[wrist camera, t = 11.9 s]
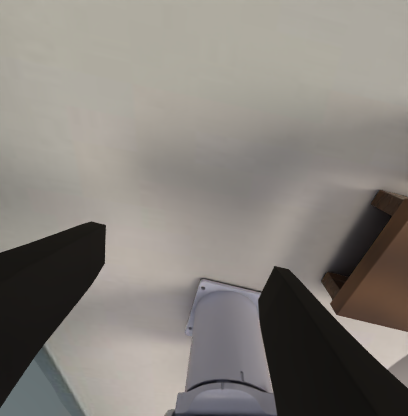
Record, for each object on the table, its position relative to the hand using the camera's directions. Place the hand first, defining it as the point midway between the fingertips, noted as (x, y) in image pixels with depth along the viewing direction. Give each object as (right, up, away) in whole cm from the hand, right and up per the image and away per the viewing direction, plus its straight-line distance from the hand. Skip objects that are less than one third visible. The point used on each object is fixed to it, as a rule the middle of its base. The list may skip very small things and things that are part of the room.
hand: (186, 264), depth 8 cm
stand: (+18, -2, +11) cm, 21 cm away
